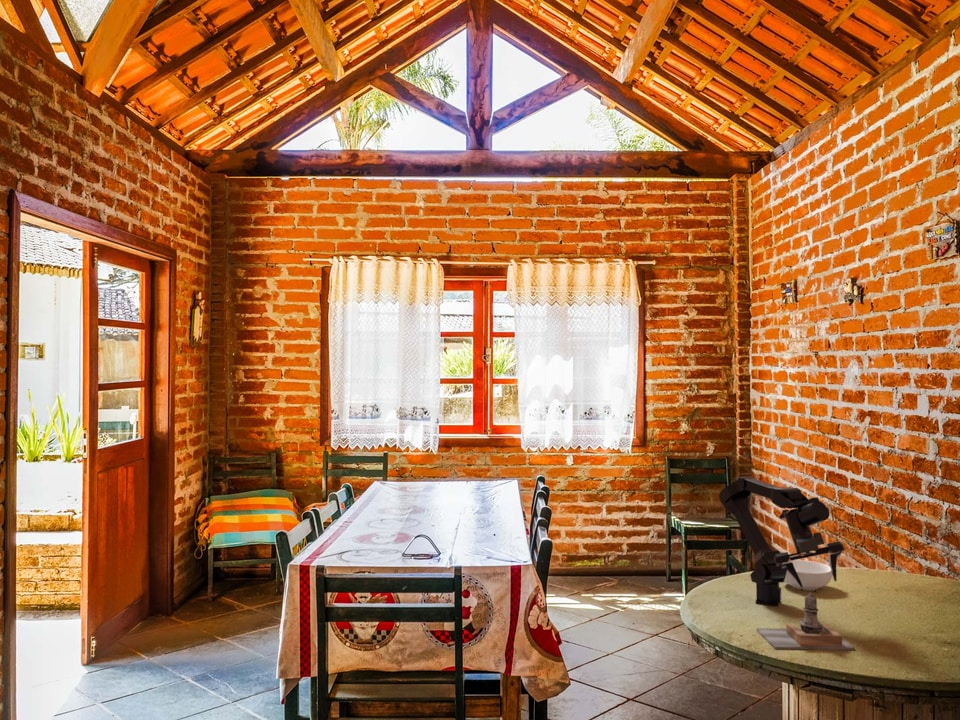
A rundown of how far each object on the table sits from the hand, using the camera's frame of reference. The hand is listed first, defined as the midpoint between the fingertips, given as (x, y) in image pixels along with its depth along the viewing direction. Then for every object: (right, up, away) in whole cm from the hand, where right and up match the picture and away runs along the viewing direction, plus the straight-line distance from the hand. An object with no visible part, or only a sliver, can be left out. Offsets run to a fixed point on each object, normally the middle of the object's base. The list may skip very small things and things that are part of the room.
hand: (818, 584), depth 208 cm
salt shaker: (-9, -10, -15) cm, 20 cm away
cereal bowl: (+12, -12, +36) cm, 39 cm away
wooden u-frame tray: (-11, -10, -15) cm, 21 cm away
